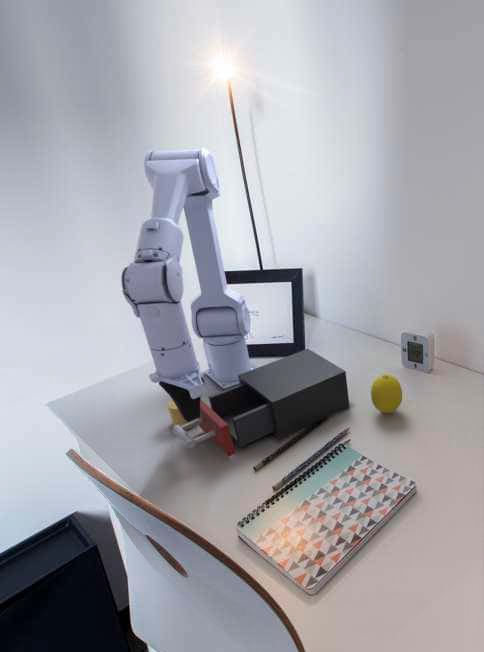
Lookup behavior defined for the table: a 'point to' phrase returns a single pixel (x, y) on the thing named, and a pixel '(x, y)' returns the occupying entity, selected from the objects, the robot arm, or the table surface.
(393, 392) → the lemon
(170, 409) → the yellow wooden cylinder
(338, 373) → the dark grey box
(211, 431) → the drawer
